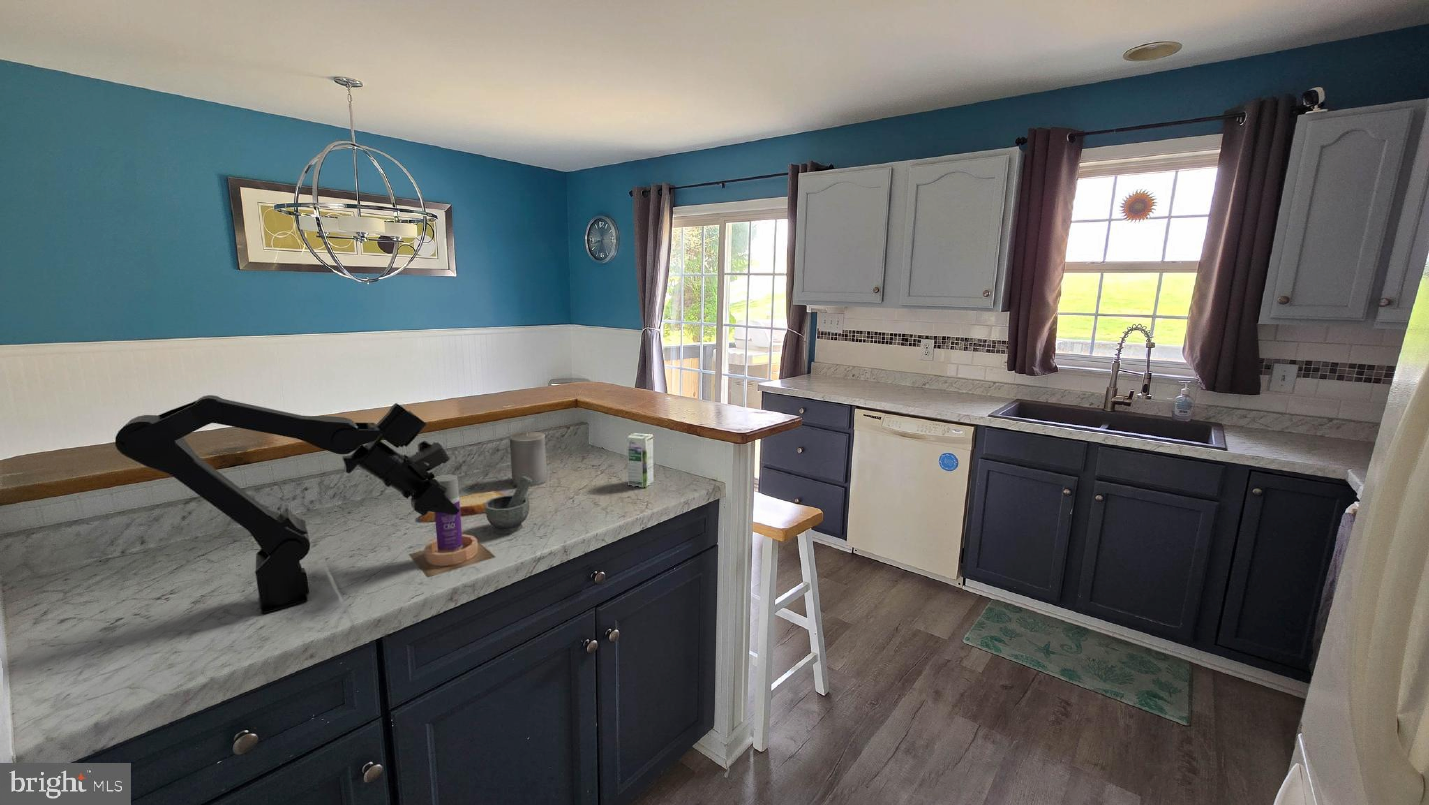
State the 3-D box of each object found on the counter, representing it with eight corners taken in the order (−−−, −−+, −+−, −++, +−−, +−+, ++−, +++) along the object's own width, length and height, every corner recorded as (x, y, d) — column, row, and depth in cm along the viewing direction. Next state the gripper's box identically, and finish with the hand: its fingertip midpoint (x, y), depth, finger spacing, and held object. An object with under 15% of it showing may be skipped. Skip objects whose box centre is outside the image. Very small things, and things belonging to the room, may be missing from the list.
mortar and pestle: (496, 543, 125) (492, 490, 123) (479, 530, 132) (475, 480, 130) (543, 529, 133) (541, 479, 131) (525, 517, 139) (522, 470, 137)
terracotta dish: (434, 571, 111) (433, 559, 111) (420, 554, 118) (419, 543, 118) (484, 556, 118) (483, 545, 117) (467, 541, 125) (467, 530, 124)
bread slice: (412, 522, 137) (411, 507, 136) (462, 497, 154) (461, 483, 154) (478, 529, 133) (476, 514, 132) (521, 503, 150) (520, 489, 149)
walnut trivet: (428, 579, 109) (427, 577, 109) (409, 556, 119) (409, 554, 118) (495, 559, 118) (495, 556, 117) (473, 539, 127) (473, 537, 127)
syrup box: (627, 486, 162) (626, 436, 160) (636, 480, 168) (635, 431, 165) (646, 488, 161) (645, 438, 158) (654, 481, 166) (653, 433, 164)
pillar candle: (512, 477, 169) (509, 428, 166) (547, 474, 172) (544, 426, 169) (511, 488, 160) (508, 437, 157) (548, 485, 163) (545, 434, 160)
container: (445, 555, 114) (440, 483, 112) (433, 549, 117) (427, 478, 114) (467, 546, 118) (462, 477, 115) (454, 541, 121) (449, 472, 118)
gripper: (430, 442, 103) (496, 489, 112) (409, 423, 118) (469, 466, 127) (384, 492, 100) (456, 536, 109) (369, 467, 114) (433, 507, 123)
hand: (454, 508), depth 117 cm, fingers closed on container, 5 cm apart
